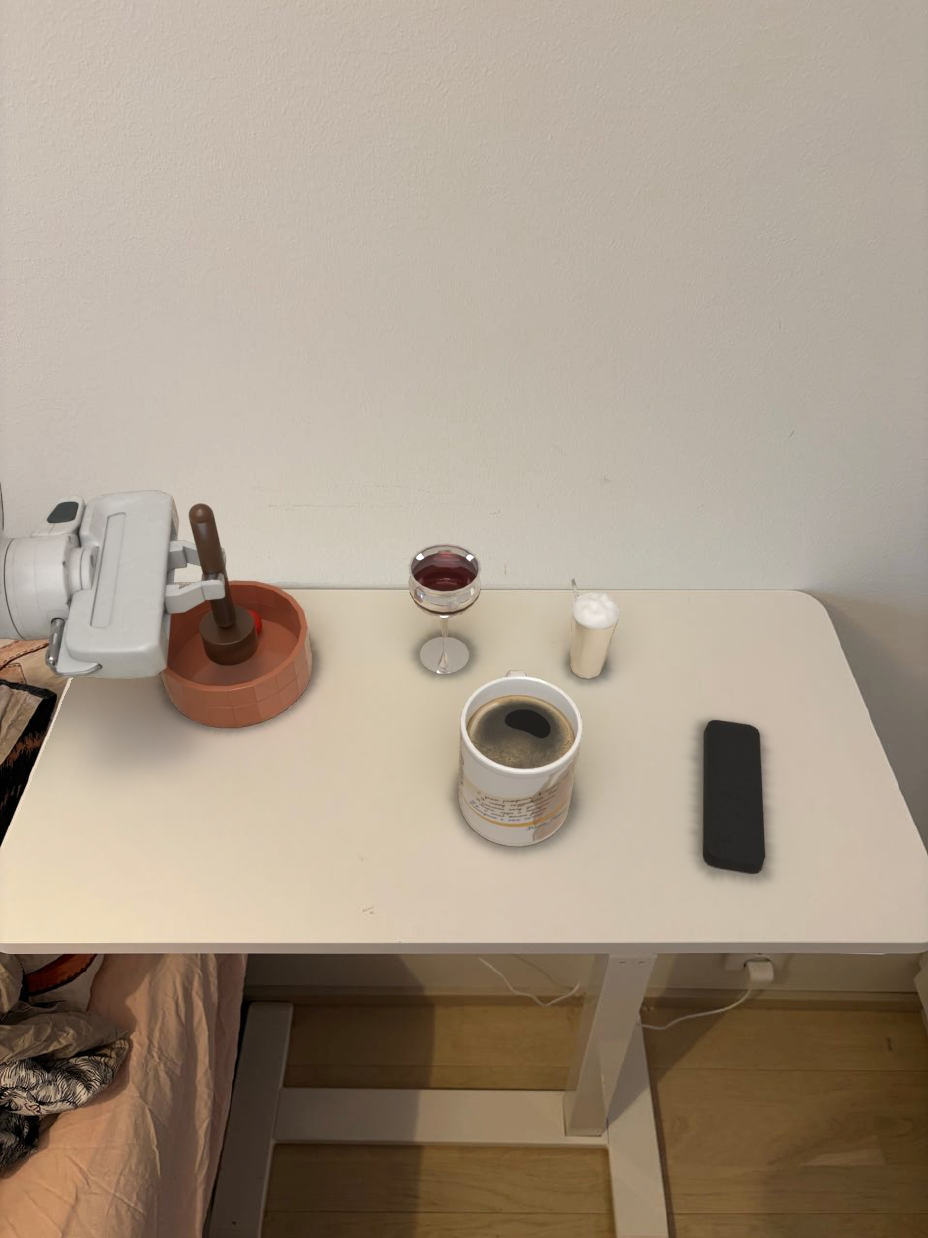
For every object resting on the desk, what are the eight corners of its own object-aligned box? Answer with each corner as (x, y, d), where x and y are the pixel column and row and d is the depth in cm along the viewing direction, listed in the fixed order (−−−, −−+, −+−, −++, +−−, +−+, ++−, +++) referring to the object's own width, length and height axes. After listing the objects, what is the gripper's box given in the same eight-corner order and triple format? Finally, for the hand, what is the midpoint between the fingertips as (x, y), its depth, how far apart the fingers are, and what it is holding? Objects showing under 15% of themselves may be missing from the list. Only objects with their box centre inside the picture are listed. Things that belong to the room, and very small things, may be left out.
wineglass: (468, 625, 97) (471, 538, 88) (486, 673, 92) (490, 586, 84) (404, 636, 95) (400, 549, 87) (419, 686, 91) (416, 599, 82)
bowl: (171, 742, 86) (158, 705, 82) (161, 633, 95) (148, 595, 91) (324, 709, 89) (318, 672, 85) (299, 607, 98) (293, 569, 94)
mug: (429, 802, 82) (428, 725, 74) (508, 716, 89) (515, 637, 81) (528, 868, 78) (538, 794, 70) (603, 773, 84) (620, 696, 76)
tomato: (235, 648, 93) (230, 627, 91) (232, 627, 95) (227, 606, 93) (265, 642, 94) (261, 621, 92) (261, 621, 96) (257, 600, 94)
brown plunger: (207, 671, 86) (169, 530, 74) (202, 632, 89) (164, 492, 77) (262, 659, 87) (233, 520, 75) (254, 622, 90) (226, 482, 78)
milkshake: (577, 638, 96) (588, 567, 88) (618, 667, 93) (632, 596, 86) (547, 661, 93) (556, 590, 86) (588, 691, 91) (601, 621, 84)
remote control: (761, 878, 78) (756, 732, 88) (766, 868, 76) (761, 721, 86) (701, 868, 78) (703, 724, 88) (705, 858, 77) (707, 713, 87)
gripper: (28, 652, 70) (215, 633, 72) (65, 484, 84) (221, 472, 86) (53, 704, 75) (228, 686, 76) (84, 536, 89) (232, 524, 90)
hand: (224, 571), depth 81 cm, fingers closed on brown plunger
